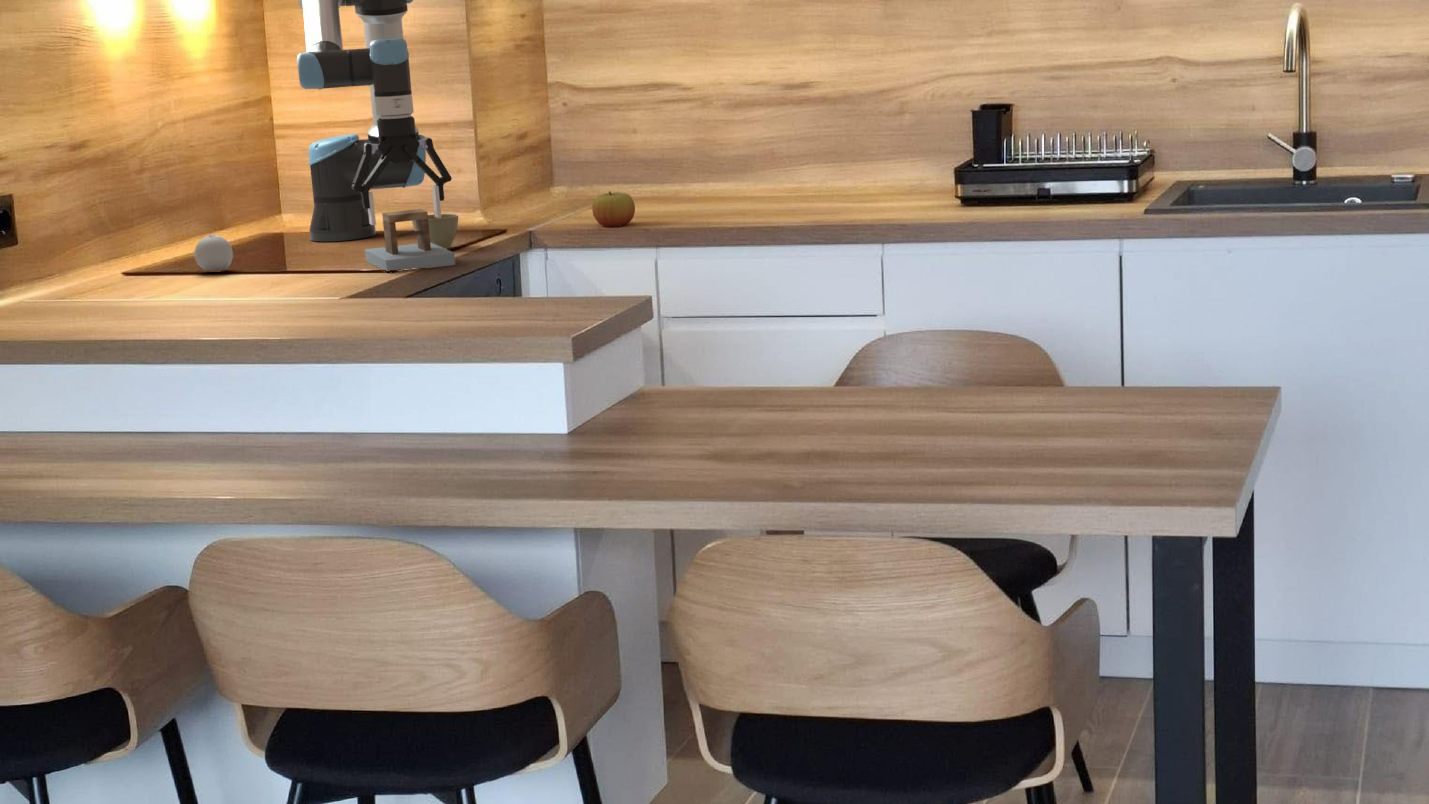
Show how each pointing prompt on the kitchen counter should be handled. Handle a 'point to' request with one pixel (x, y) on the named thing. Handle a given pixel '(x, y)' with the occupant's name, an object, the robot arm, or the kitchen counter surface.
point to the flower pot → (441, 229)
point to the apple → (613, 209)
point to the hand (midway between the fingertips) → (405, 220)
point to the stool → (421, 232)
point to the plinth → (410, 257)
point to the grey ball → (213, 253)
